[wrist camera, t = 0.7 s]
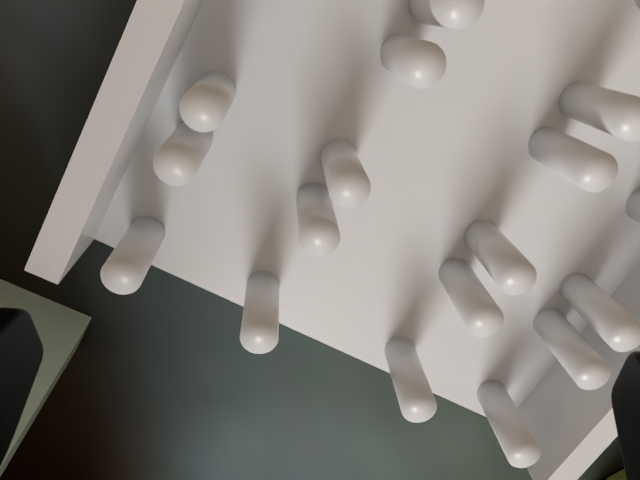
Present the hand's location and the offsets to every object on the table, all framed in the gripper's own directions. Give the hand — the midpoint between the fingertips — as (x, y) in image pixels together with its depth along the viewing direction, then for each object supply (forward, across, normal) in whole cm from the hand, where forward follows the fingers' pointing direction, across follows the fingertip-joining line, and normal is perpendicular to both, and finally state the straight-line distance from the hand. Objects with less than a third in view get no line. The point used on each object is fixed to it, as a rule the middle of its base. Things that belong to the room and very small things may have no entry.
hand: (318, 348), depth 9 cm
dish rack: (+13, -3, +3) cm, 13 cm away
